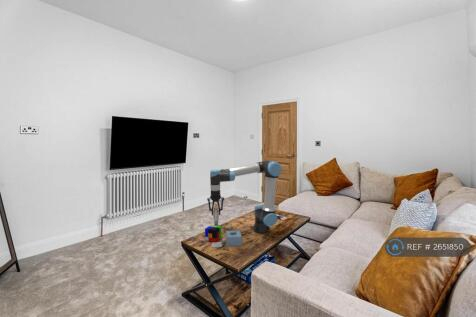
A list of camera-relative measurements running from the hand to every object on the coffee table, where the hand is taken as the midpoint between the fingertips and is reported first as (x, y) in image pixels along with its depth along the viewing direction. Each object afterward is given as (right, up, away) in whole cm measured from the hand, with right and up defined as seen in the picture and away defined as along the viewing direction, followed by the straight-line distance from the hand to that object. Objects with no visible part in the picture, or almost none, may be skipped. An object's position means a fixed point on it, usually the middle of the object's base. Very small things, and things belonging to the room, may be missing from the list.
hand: (216, 219), depth 173 cm
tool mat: (0, -21, +2) cm, 21 cm away
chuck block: (+12, -21, +5) cm, 24 cm away
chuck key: (0, -5, 0) cm, 5 cm away
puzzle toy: (-3, -20, +12) cm, 24 cm away
